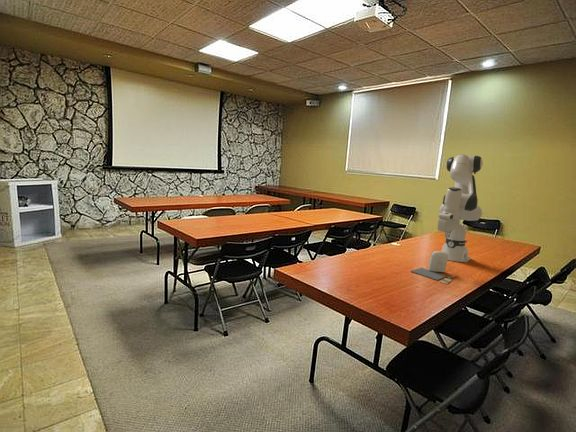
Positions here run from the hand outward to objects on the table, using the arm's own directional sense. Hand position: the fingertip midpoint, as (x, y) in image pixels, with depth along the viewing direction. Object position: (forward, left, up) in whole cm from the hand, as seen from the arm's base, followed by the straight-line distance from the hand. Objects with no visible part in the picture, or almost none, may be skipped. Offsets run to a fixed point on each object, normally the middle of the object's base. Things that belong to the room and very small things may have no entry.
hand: (447, 237), depth 196 cm
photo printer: (+7, 0, -20) cm, 22 cm away
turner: (+16, +11, -21) cm, 28 cm away
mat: (+16, 0, -21) cm, 26 cm away
